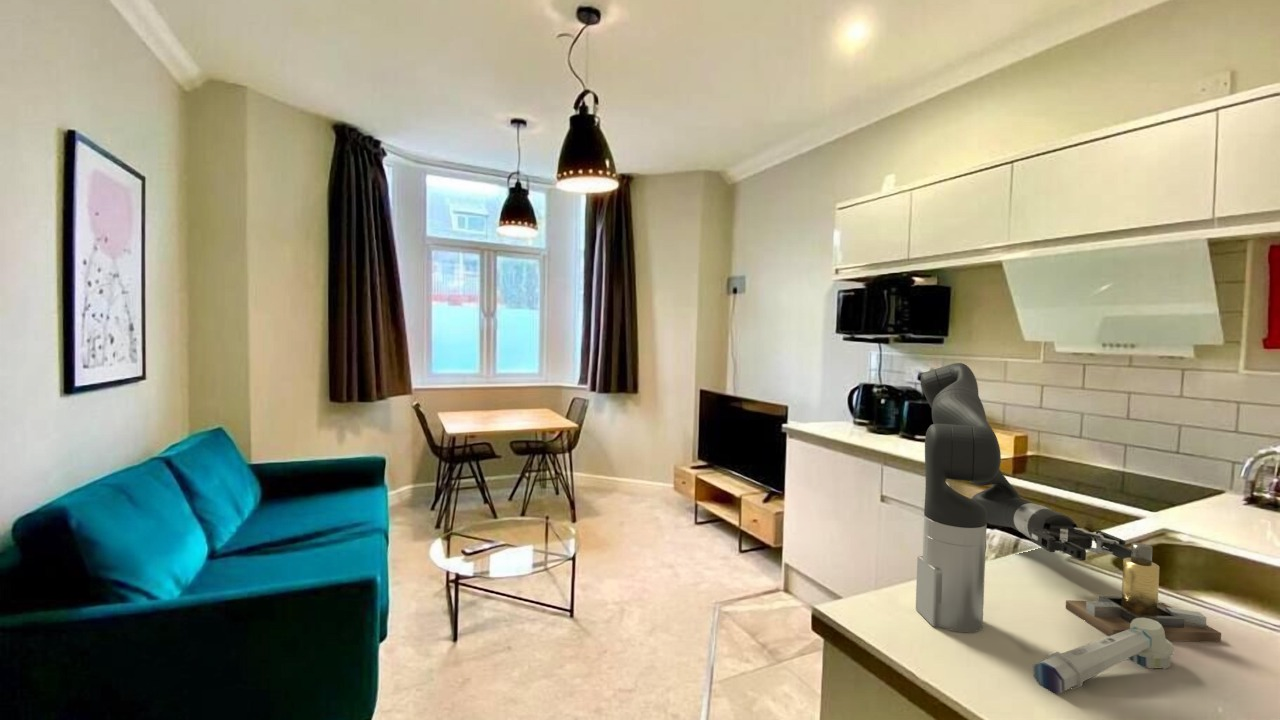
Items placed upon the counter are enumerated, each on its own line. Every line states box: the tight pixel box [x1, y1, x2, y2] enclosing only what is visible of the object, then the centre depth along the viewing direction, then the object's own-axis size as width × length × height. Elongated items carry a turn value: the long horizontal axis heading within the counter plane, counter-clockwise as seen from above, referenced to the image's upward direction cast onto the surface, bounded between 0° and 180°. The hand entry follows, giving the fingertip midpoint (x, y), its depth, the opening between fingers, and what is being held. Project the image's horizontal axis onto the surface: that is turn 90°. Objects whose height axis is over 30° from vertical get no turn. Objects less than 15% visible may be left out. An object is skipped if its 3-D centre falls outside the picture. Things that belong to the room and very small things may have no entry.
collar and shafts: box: [1085, 595, 1207, 628], centre depth 93 cm, size 16×8×2 cm, turn 89°
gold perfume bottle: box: [1121, 542, 1160, 616], centre depth 92 cm, size 4×4×12 cm
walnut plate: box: [1065, 599, 1222, 643], centre depth 93 cm, size 17×10×2 cm, turn 89°
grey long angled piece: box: [1032, 618, 1174, 695], centre depth 79 cm, size 5×7×25 cm
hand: (1108, 556), depth 99 cm, fingers open, 8 cm apart
